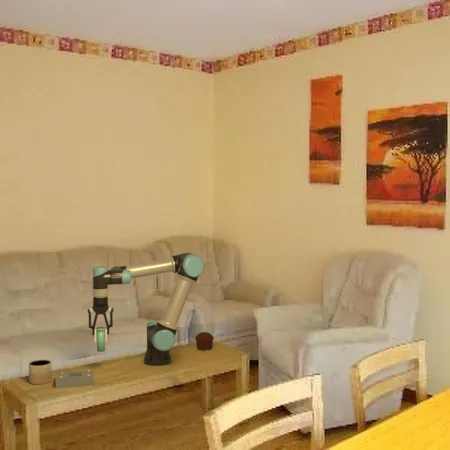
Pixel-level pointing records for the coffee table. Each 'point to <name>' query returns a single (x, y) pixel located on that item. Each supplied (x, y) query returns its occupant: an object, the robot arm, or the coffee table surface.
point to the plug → (100, 339)
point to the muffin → (204, 341)
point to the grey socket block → (74, 378)
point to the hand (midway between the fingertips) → (100, 340)
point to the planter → (40, 372)
